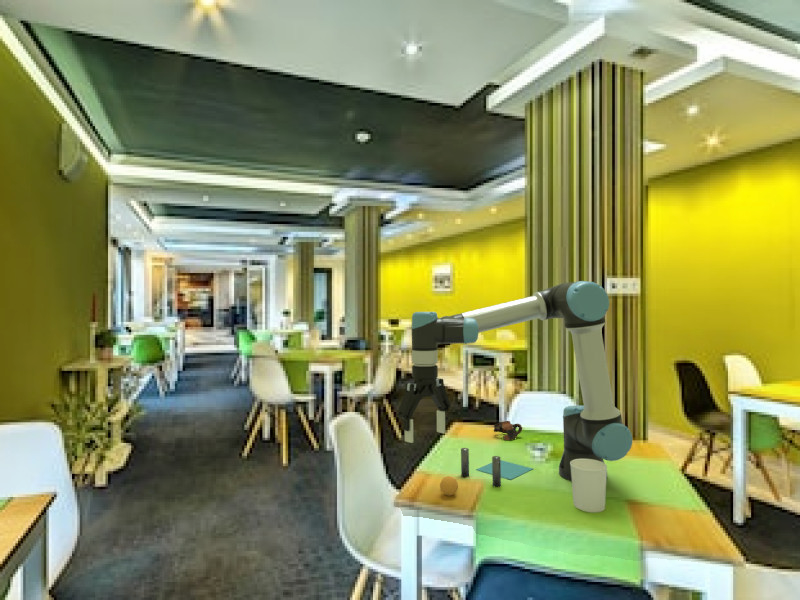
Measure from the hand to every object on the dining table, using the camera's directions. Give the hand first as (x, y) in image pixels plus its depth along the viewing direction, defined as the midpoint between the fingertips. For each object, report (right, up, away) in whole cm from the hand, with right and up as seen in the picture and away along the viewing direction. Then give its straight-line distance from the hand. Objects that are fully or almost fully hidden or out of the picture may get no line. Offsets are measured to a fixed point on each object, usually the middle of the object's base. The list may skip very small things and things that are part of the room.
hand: (425, 437), depth 141 cm
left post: (+14, -19, +21) cm, 32 cm away
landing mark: (+29, -19, +26) cm, 43 cm away
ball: (+7, -16, +5) cm, 19 cm away
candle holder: (+46, -19, -4) cm, 50 cm away
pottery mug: (+39, -19, +65) cm, 78 cm away
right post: (+23, -19, +12) cm, 32 cm away
